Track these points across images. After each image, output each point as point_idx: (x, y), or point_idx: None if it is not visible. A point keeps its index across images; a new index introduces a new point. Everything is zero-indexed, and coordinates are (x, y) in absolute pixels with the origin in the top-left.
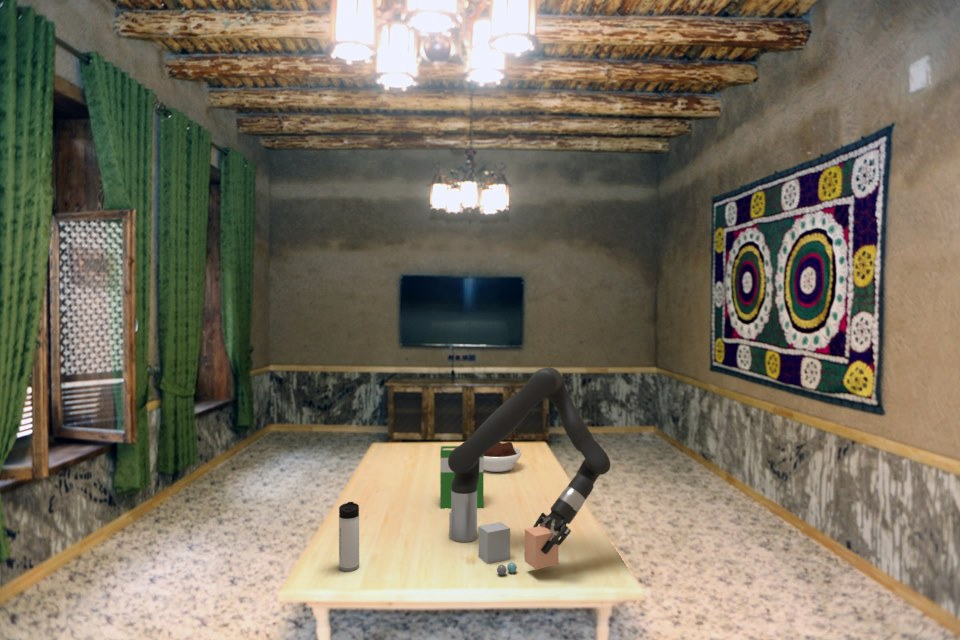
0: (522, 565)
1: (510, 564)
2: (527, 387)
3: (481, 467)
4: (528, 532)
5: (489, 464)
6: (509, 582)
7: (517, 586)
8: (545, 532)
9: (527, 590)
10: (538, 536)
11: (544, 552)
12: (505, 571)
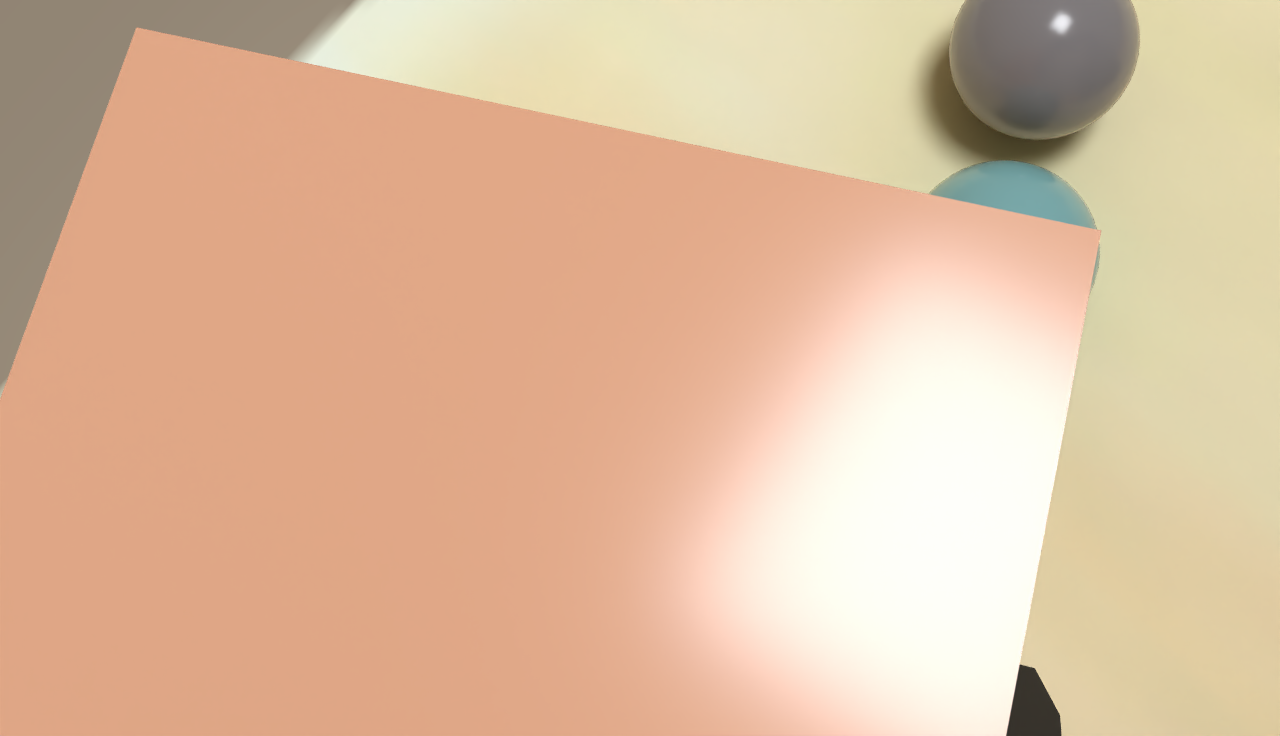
0: (1086, 644)
1: (1006, 181)
2: None
3: None
4: (740, 171)
5: None
6: (729, 12)
7: (547, 19)
8: (75, 715)
9: (352, 48)
10: (110, 181)
11: None
12: (949, 58)
